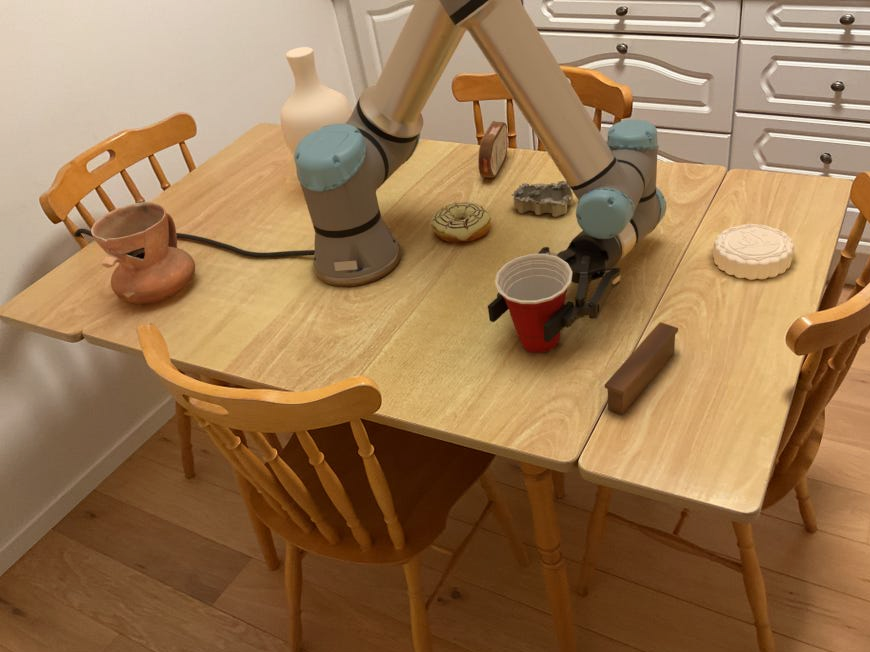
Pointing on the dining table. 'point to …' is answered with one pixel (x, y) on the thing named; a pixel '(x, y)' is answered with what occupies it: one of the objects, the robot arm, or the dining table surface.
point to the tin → (493, 149)
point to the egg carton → (543, 198)
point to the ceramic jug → (143, 253)
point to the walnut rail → (640, 368)
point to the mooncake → (753, 251)
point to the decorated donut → (461, 222)
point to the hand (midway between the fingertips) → (517, 323)
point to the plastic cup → (534, 295)
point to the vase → (309, 101)
